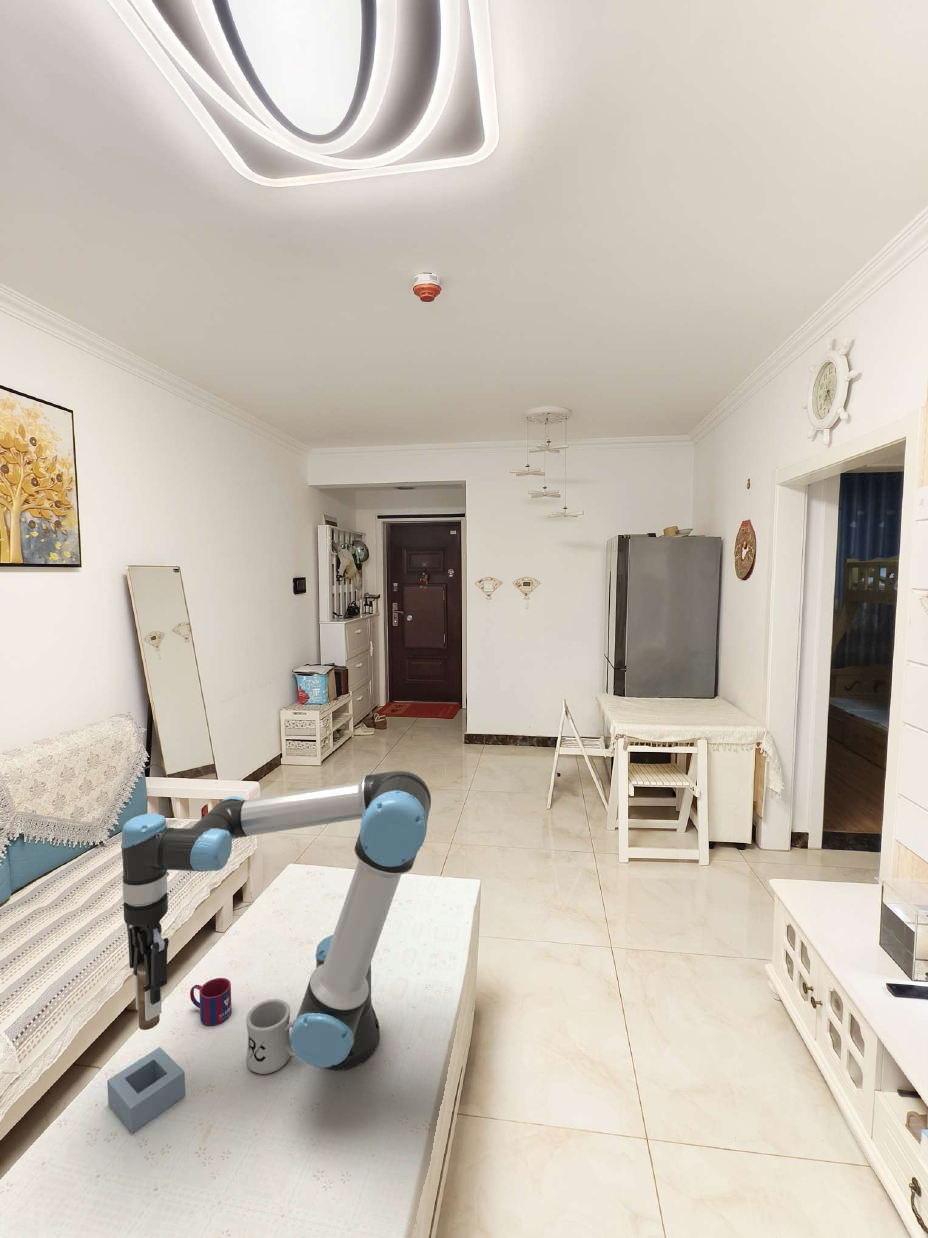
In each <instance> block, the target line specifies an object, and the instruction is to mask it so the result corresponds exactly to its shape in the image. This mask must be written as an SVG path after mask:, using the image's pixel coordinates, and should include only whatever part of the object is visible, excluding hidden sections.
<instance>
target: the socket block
mask: <svg viewBox="0 0 928 1238" xmlns="http://www.w3.org/2000/svg"><path fill="white" fill-rule="evenodd" d="M185 1077H186V1075H185V1070H184V1069H182V1068H181V1066H179V1064H177V1062H176V1061H175V1060H174V1059H172V1058H171V1057H170V1055H169V1054H167V1052H166V1051H165V1050H164V1049H163V1048H162V1047H161V1046H158V1048H155V1049H154V1050H152V1051H151V1052H150V1053H148V1054H146V1055H145V1056H143V1057H141V1058H139V1059H138V1060H136V1061H135V1062H134V1063H132V1064H131V1065H129V1066H127V1067H126V1068H124V1069H123V1070H120V1071H119V1072H118V1073H116V1074H115V1075H113V1076H111V1077H110V1078H108V1079H107V1080H106V1081H107V1082H106V1083H107V1086H106V1087H107V1102H108V1103H107V1105H108V1106H109V1107H110V1108H111V1110H112V1111H113V1112H114V1113H115V1115H116V1116H117V1117H118V1118H119V1120H120V1121H121V1123H122V1124H123V1125H124V1126H125V1128H126V1129H127V1130H128V1131H129V1133H131V1135H133V1134H135V1133H136V1132H138V1131H139V1130H140V1129H141V1128H142V1127H144V1126H145V1125H147V1124H149V1122H151V1121H152V1120H154V1119H155V1118H157V1117H158V1116H159V1115H160V1114H162V1113H163V1112H164V1111H166V1110H167V1109H169V1108H170V1107H171V1106H174V1104H175V1103H177V1102H178V1101H180V1100H182V1099H183V1098H184V1097H185V1096H186V1079H185Z"/></svg>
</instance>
